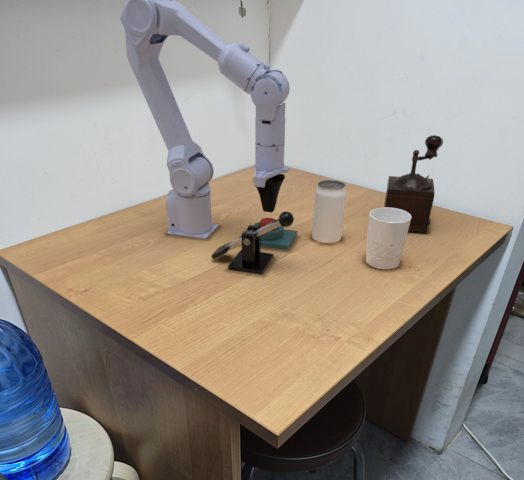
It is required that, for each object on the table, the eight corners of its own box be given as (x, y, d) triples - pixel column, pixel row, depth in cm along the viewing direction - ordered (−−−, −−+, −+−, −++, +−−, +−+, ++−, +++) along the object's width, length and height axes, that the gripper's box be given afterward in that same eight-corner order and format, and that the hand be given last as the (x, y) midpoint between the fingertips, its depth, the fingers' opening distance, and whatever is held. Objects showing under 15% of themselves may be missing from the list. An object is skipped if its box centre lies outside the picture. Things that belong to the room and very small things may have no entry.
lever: (215, 263, 97) (208, 251, 96) (222, 255, 100) (215, 243, 99) (293, 226, 88) (286, 213, 87) (298, 218, 91) (291, 205, 90)
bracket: (228, 270, 95) (226, 236, 91) (241, 253, 101) (240, 220, 97) (262, 275, 94) (262, 240, 89) (273, 258, 100) (274, 224, 95)
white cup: (404, 257, 101) (413, 210, 95) (399, 274, 95) (409, 225, 89) (365, 251, 103) (372, 205, 97) (359, 267, 97) (366, 219, 91)
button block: (238, 244, 105) (238, 230, 103) (249, 230, 111) (249, 217, 109) (287, 251, 102) (288, 237, 100) (296, 236, 108) (297, 222, 107)
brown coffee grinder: (430, 234, 110) (449, 151, 99) (380, 229, 112) (393, 147, 101) (427, 210, 122) (444, 133, 112) (382, 206, 124) (395, 130, 113)
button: (257, 230, 104) (258, 222, 103) (262, 224, 107) (262, 216, 106) (274, 232, 103) (274, 224, 102) (278, 226, 106) (278, 218, 105)
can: (339, 246, 105) (346, 190, 98) (310, 243, 106) (314, 188, 99) (342, 234, 110) (348, 180, 103) (313, 231, 111) (317, 178, 104)
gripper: (280, 154, 88) (277, 226, 96) (298, 135, 99) (295, 201, 107) (243, 151, 90) (244, 221, 98) (265, 133, 101) (264, 198, 109)
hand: (268, 210), depth 103 cm, fingers closed
